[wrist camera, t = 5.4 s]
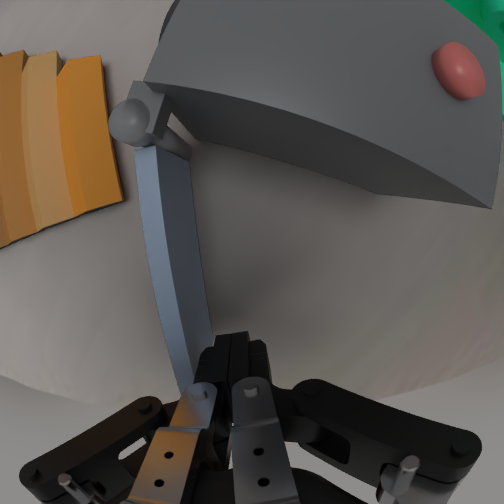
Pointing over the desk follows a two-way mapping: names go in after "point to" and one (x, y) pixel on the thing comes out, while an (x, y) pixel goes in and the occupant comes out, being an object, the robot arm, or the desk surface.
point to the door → (174, 251)
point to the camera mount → (486, 24)
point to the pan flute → (53, 143)
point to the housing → (332, 91)
